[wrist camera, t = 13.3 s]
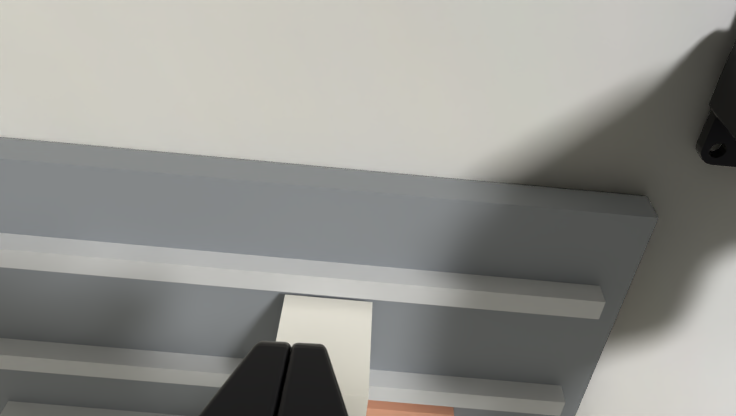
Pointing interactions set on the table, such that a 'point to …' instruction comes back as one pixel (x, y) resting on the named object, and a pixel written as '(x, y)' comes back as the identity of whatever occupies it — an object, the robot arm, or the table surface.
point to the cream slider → (334, 340)
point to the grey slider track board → (298, 280)
